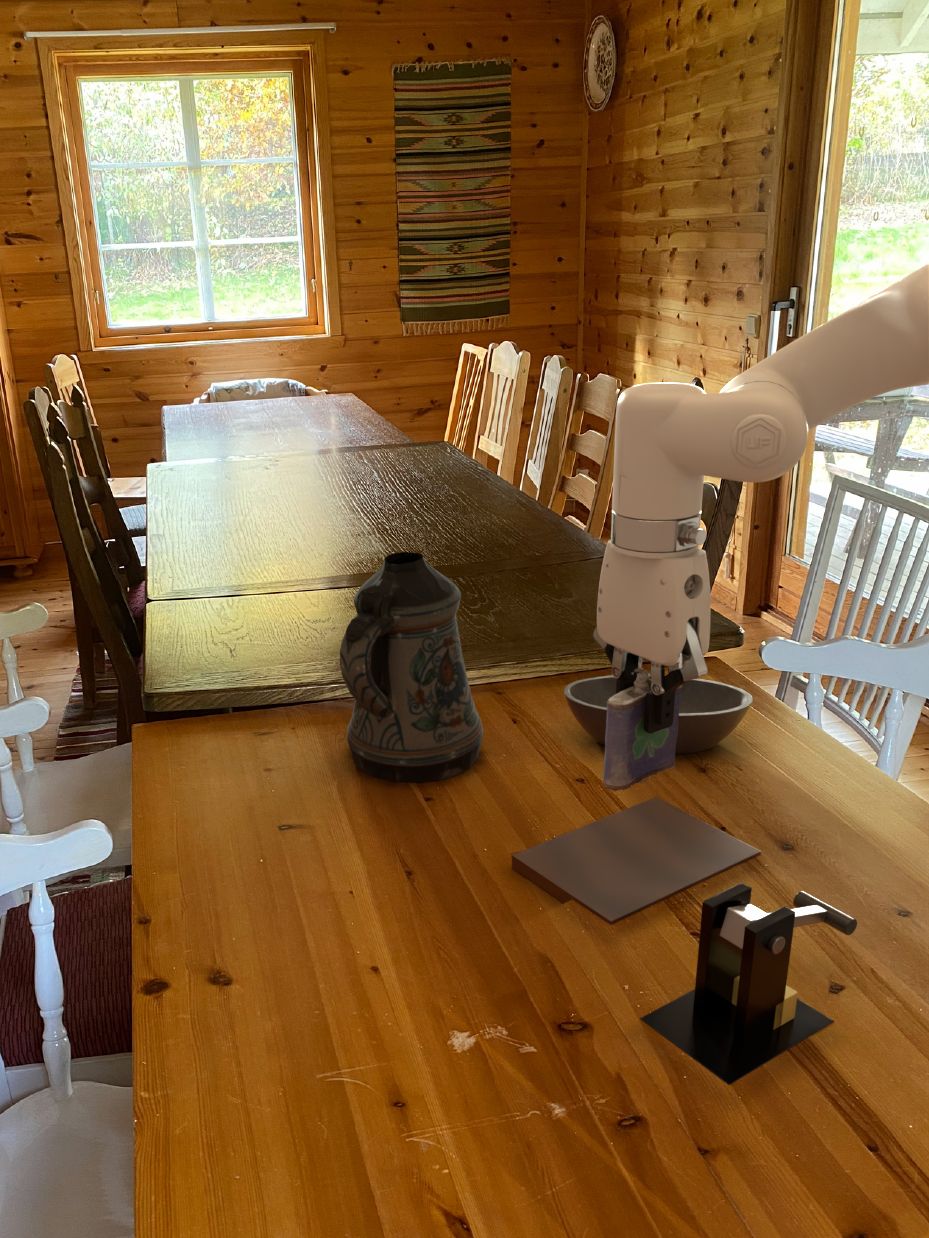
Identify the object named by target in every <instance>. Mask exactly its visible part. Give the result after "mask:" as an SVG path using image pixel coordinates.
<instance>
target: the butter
mask: <svg viewBox="0 0 929 1238" xmlns="http://www.w3.org/2000/svg"><path fill="white" fill-rule="evenodd" d="M739 977H740V975H739V976H738V977H736V978H734V986H733V996H732V1004H734V1005H735V1006H736V1004H737V995H738V986H739ZM798 994H799V993H798V991H796V990H795V989H794V988H791V987H790V986H788V985H787V984H786V991H785V998H784V1001H783V1002H782V1003H780V1005H781V1004H782V1005H783V1004H784V1005H783V1006H782V1005H781V1009H782V1008H783V1009H782V1010H781V1011H780V1012H779V1010H780V1009H778V1012H777V1009H776V1013H775V1014H776V1015H777V1014H780V1013H781V1014H782V1015H780V1017H779V1016H778V1015H777V1018H776V1015H775V1018H776V1019H775V1021H774V1025H775V1026H774V1029H776V1028H778V1027H776V1024H778V1023H780V1024H779V1025H783V1024H785V1023H786V1022H788V1021H790V1020H792V1019H793V1018H794V1017H795V1009H796V1002H797V998H798ZM780 1005H779V1004H778V1008H780ZM782 1011H783V1012H782ZM781 1016H782V1017H781ZM779 1018H782V1020H780V1019H779ZM776 1022H777V1023H776ZM774 1029H773V1030H774Z"/></svg>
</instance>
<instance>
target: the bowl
mask: <svg viewBox="0 0 929 1238" xmlns="http://www.w3.org/2000/svg"><path fill="white" fill-rule="evenodd" d="M649 675H650V674H649ZM649 675H648V676H649ZM649 679H651V677H650V678H649ZM616 681H617V679H616V678H614V677H613V675H602V676H594V677H593V676H592V677H588V678H583V679H579V680H576V681H572V682H571V683H569V684H567V685H566V686H565V687H564V689H563V694H564V697H565V700H566V703H567V705H568V708H569V709H570V711H571V713H572V715H573V716H574V718H575V721H577V722H578V723H579V726H581V728H582V729H583V730H584V731H585V732H586V733H587V734H588V735H589V736H590V737H591V738H592V739H593V740H594V741H596V742H597V743H598V744H600V745H602V746H605V738H606V720H607V701H608V699H609V698H610V697H612V696H614V695H616ZM752 703H753V697H752V695H751V694H750V693H749V692H747V691H746V690H744V689H742V688H740V687H738V686H735V685H732V684H731V685H730V684H728V683H723V682H719V681H714V680H708V679H704V678H703V679H702V678H697V679H693V680H689V681H687V682H685V683H684V684H683V685H682V691H681V702H680V709H679V718H678V734H677V741H676V747H675V748H676V750H675V755H683V754H685V755H686V754H695V753H700V752H704V751H708V750H710V749H711V748H713V747H715V746H716V745H717V744H719V743H721V742H722V741H723V740H725V739H726V738H727V737H728V736H729V735H730V734H731V733H732V732H733V731H734V730H735V729H736V728H737V726H738V725H739V724H740V723H741V722H742V720H743V719H744V717H745V716H746V715H747V713H748V711H749V709H750V707H751V705H752Z"/></svg>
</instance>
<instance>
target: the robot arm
mask: <svg viewBox="0 0 929 1238" xmlns="http://www.w3.org/2000/svg"><path fill="white" fill-rule="evenodd" d="M927 385H929V262H928V263H927V264H925V265H923V266H921V267H920V268H918V269H916V270H914V271H913V272H911V273H909V274H908V275H907V276H905V277H903V278H901V279H900V280H898V281H896V282H894V283H893V284H891V285H889V286H887V287H885V288H883V289H882V290H880V291H878V292H876V293H874V294H872V295H871V296H869V297H868V298H866V299H865V300H864V301H861V302H860V303H859V304H857V305H855V306H853V307H852V308H850V309H848V310H846V311H844V312H843V313H840V314H839V315H837V316H835V317H833V318H831V319H829V320H828V321H826V322H823V324H820V325H819V326H817V327H816V328H813V329H812V330H810V331H809V332H807V333H805V334H803V335H801V336H800V337H798V338H796V339H794V340H793V341H791V342H790V343H788V344H787V345H785V346H783V347H781V348H780V349H778V350H777V351H775V352H773V353H771V354H770V355H768V356H767V357H765V358H764V359H762V360H760V361H759V362H757V363H756V364H754V365H752V366H750V367H749V368H747V369H746V370H744V371H743V372H740V374H738V375H737V376H735V377H734V378H733V379H731V380H729V382H728V383H727V384H725V386H724V387H723V388H722V389H721V390H720V391H719V392H709V393H708V392H707V393H706V392H705V390H704V389H703V388H702V387H700V386H697V385H695V384H691V383H685V382H648V383H647V382H646V383H640V384H635V385H631V386H630V387H627V388H626V389H625V390H623V391H622V392H621V394H620V395H619V397H618V399H617V403H616V409H615V410H616V411H615V426H614V427H615V428H614V429H615V430H614V453H613V471H612V472H613V475H612V477H613V479H612V499H611V517H610V522H611V523H610V539H609V540H608V541H607V543H606V546H605V550H604V555H603V559H602V565H601V570H600V575H599V584H598V593H597V603H596V627H595V628H594V630H593V633H592V638H593V639H594V640H595V642H596V643H597V644H598V645H599V646H600V647H601V648H602V650H603V651H604V654H605V655H606V657H607V659H608V661H609V662H610V664H611V669H610V672H611V676H613V677H614V678H616V679H617V681H616V694H618V693H619V692H621V691H623V690H625V689H627V688H629V687H632V686H634V681H635V680H636V678H637V673H639V672H640V671H638V672H634V670H635V669H638V668H643V667H642V666H643V660H644V659H645V660H648V661H649V662H650V675H651V690H652V691H651V692H648V693H646V697H645V714H644V730H645V732H647V733H649V734H651V733H654V732H657V731H660V730H662V729H665V728H668V727H670V726H671V725H672V724H673V717H674V703H675V690H676V689H679V688H681V687H682V685H683V684H684V683H685V682H687V681H689V680H693V679H701V678H703V677H706V676H707V675H708V673H709V669H708V666H707V663H706V660H705V657H704V656H707V653H708V652H709V649H710V648H709V647H710V641H711V640H710V638H711V613H712V612H711V610H712V609H711V604H712V603H711V601H712V600H711V583H710V579H711V578H710V572H709V563H708V558H707V552H706V550H704V549H701V548H699V546H702V545H703V544H704V543H705V542H706V540H707V532H706V531H707V530H705V529H703V528H701V520H702V519H701V518H702V509H703V508H702V507H703V493H704V481H705V480H704V479H705V477H712V478H716V479H723V480H727V481H733V482H739V483H740V482H741V483H742V482H743V483H765V482H769V481H773V480H776V479H778V478H781V477H782V476H784V475H785V474H787V473H788V472H790V471H791V470H792V469H793V468H795V466H797V464H798V463H799V461H800V460H801V459H802V458H803V456H804V453H805V451H806V449H807V445H808V440H809V431H811V430H813V429H814V428H817V427H818V426H819V425H822V424H824V423H825V422H827V421H829V420H831V419H832V418H834V417H836V416H838V415H839V414H841V413H843V412H846V411H847V410H849V409H851V408H853V407H855V406H857V405H860V404H861V403H864V402H866V401H868V400H870V399H873V398H875V397H878V396H881V395H884V394H886V393H890V392H893V391H896V390H902V389H907V388H913V387H920V386H927ZM683 663H684V664H683ZM666 668H668V669H667V670H668V673H667V674H666ZM632 672H634V674H633V675H632V674H631V673H632Z"/></svg>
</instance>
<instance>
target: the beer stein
mask: <svg viewBox="0 0 929 1238" xmlns="http://www.w3.org/2000/svg"><path fill="white" fill-rule="evenodd" d="M425 559H426V558H425V557H424V555H423V554H422V553H419V552H411V551H400V552H393V553H391V554H388V555H386V557H384V558H383V561H382V565H381V567H380V569H378V570H377V571H376V572H375V573H374V574H373V575H371V576H370V577H369V578H368V579H367V580H366V581H365V582H364V583H362V585H361V586H360V587H359V588H358V590H357V591H356V593H355V595H354V597H353V605H354V608H355V612H356V615H355V617H353V618H352V619H351V621H350V622H349V623H348V625H347V627H346V629H345V633H344V635H343V638H342V640H341V643H340V648H339V667H340V672H341V676H342V679H343V682H344V684H345V687H346V688H347V690H348V692H349V693H350V695H351V696H352V698H353V699H354V702H353V703H354V704H353V710H352V714H351V718H350V720H349V722H348V725H347V728H346V741H347V744H348V747H349V749H350V752H351V758H352V760H353V762H354V763H355V766H356V767H357V769H358V770H360V771H362V772H364V773H367V774H368V775H371V776H372V777H374V778H376V779H381V780H385V781H390V782H395V783H415V784H416V783H418V784H421V783H428V782H435V781H440V780H446V779H448V778H451V777H454V776H458V775H459V774H462V773H464V772H465V771H467V770H468V769H470V768H471V767H472V766H473V765H474V763H476V761H477V760H478V759H479V754H480V750H481V746H482V741H483V736H484V735H483V734H484V727H483V721H482V718H481V716H480V714H479V712H478V710H477V708H476V704H475V702H474V699H473V698H474V697H473V694H472V691H471V687H470V683H469V678H468V675H467V668H466V664H465V660H464V654H463V648H462V643H461V637H460V632H459V627H458V620H457V613H458V611H459V608H460V603H461V599H462V592H461V591H460V588H459V587H457V585H456V584H455V583H454V582H453V581H452V580H451V579H450V578H449V577H448V576H447V577H446V575H444V574H442V573H441V572H439V571H438V570H436V569H435V568H434V567H433V566H431V565H430V564H429V563H427V562H426V560H425Z"/></svg>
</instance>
